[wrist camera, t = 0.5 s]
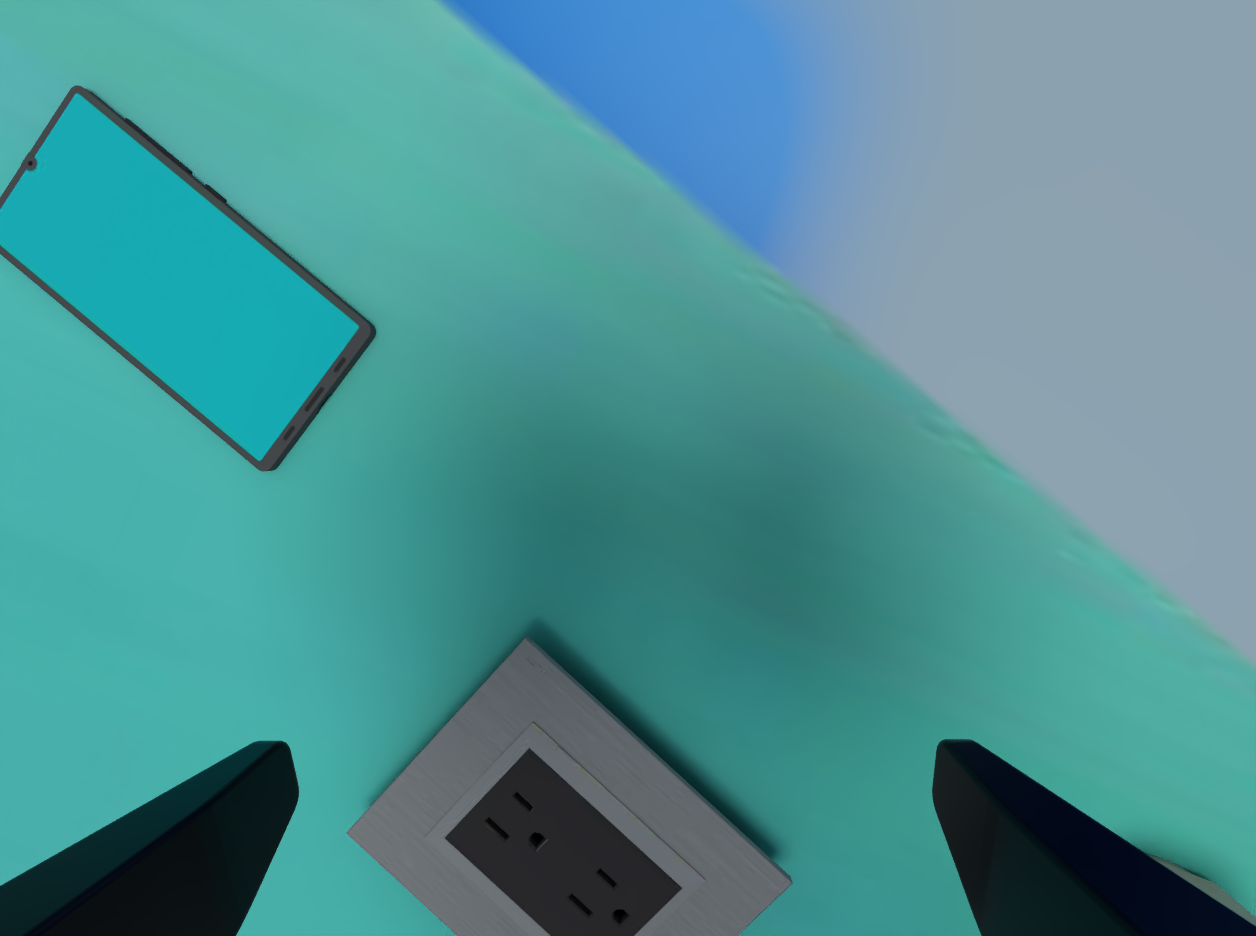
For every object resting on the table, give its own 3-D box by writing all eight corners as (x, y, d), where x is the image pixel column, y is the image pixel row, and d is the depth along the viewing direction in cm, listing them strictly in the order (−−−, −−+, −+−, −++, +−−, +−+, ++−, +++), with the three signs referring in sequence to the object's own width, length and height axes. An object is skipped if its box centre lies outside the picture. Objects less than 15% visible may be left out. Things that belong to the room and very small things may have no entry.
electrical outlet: (782, 844, 25) (793, 889, 22) (606, 1016, 26) (598, 1076, 23) (537, 620, 25) (522, 641, 22) (372, 800, 26) (341, 838, 23)
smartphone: (264, 475, 24) (-24, 233, 24) (278, 473, 25) (-1, 240, 25) (375, 326, 24) (76, 78, 24) (386, 330, 24) (96, 90, 25)
